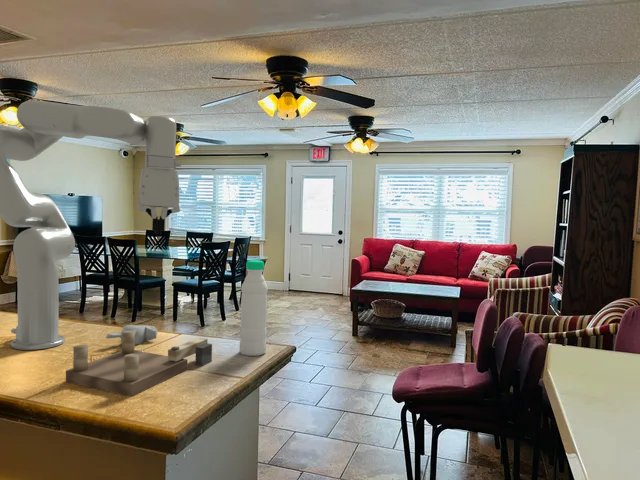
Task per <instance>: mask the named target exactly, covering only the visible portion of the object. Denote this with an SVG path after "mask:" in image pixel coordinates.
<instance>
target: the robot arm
mask: <svg viewBox="0 0 640 480" xmlns="http://www.w3.org/2000/svg"><path fill="white" fill-rule="evenodd" d="M16 117H17V118H16V119H17V121H18V123H19V124H20V125H21V127H23V128H21V129H17V128H15V127H10V126H7V125H3V124H0V218H2V220H3V222H4V223H6V224H7V225H9V226H10V227H14V228H27V229H25V230H22V231H21V232H20V233H19V234H18V235H17V236H16V237H15V239H14V242H13V244H12V246H13V255H14V256H13V257H14V260H15V265H16V276H17V282H16V283H17V325H16V327H15V328H12V329H11V330H10V332H11V334H15V338H14V339H12V340H11V342H10V347H11V348H12V349H15V350H19V351H20V350H22V351H33V350H44V349H49V348H54V347H57V346H60V345H62V344H64V343H65V341H66V337H65V336H64V335H61V334H60V333H59V329H60V328H59V327H60V326H59V318H60V317H59V313H60V310H59V309H60V307H59V306H60V305H59V302H60V300H59V297H60V294H59V292H60V291H59V289H60V286H59V283H60V282H59V272H58V268H57V265H56V263H55V261H59V260H64V259H67V258H69V256H71V255H72V254H73V252H74V250H75V248H76V239H75V237H74V234H73V232H72V230H71V228H70V226H69V224H68V223H67V221H66V219H65V218H64V215H63V214H62V212H61V210H60V209H59V207H58V205H57V204H56V202H55V201H54V200H53V199H52V198H51V197H49V196H47V195H46V194H43V193H40V192H31V191H30V190H29V188H27V186H26V184H25V182H24V181H23V179H22V178H21V176H20V174H19V173H18V171H17V170H16V169H15V168H14V167H13V166H12V165H11V163H10V162H9V161H8V160H13V161H18V162H19V161H21V162H25V161H29V160H32V159H34V158H36V157H38V156H39V155H40V154H42V153H43V152H45V151H46V150H47V149H48V148H50V147H51V146H53V145H55V143H57V142H58V141H59V140H61V139H62V138H63V137H65V138H70V139H71V138H72V139H77V140H78V139H84V138H85V137H97V138H99V137H100V138H105V139H112V140H118V141H121V142H123V143H127V144H129V145H133V146H145V162H144V163H145V164H144V168H141V171H140V175H139V176H140V177H139V185H138V188H139V189H138V204H137V210H138V211H140V212H143V213H147V214H148V215H149V216H150V218H151V219H152V223H151V224H152V225H151V226H152V227H151V228H152V230H151V231H153V232H154V234H155V235H158V234H159V235H162V232H165V225H166V223H165V222H166V221H165V220H166V219H167V218H168V217H169V216H170V215H171V214H175V213H180V211H181V208H180V179H179V173H178V170H176V168H178V167H179V168H181V166H182V162H181V161H177V159H176V154H177V153H176V152H177V151H176V147H177V123H176V121H175V119H173V118H172V117H168V116H162V115H151V116H149V117H148V118H147V119H146V118H143V117H141V116H138V115H136V114H135V113H132V112H130V111H128V110H124V109H120V108H112V107H104V106H95V105H76V104H69V103H67V104H65V103H62V102H61V103H60V102H54V101H53V102H52V101H46V100H45V101H44V100H38V99H36V100H35V99H32V100H26V101H24V102H22V103H20V104H19V106H18V107H17V109H16ZM157 208H161V213H160V215H159V216H157ZM158 217H159V218H158Z"/></svg>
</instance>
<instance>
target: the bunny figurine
mask: <svg viewBox="0 0 640 480" xmlns="http://www.w3.org/2000/svg"><path fill="white" fill-rule="evenodd" d="M158 330H159V329H157V327H156V326H153V325H147V324H139V325H136V324H127V325H124V326H122V329H121V332H120V333H119V332H118V333H116V332H113V333H108V334H107V335H106V337H105V339H115V338H120V340H121V341H122V332H124V331H134V332H135V342H134V346H137V345H139V344H140V345H141V344H143V343H145V342H146V341H151V340H156V339H157V335H158Z"/></svg>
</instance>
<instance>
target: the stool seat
mask: <svg viewBox="0 0 640 480" xmlns="http://www.w3.org/2000/svg"><path fill="white" fill-rule="evenodd" d="M121 332H122V331H121ZM134 342H135V332H134V331H124V332H122V340H121V351H118V352H115V353H113V354H112V353H111V354H110V355H108V356H104V357H102V358H101V357H100V358H99V359H95V360H92V361H89V346H88V345H87V344H79V345H74V346H73V355H72V356H73V357H72V358H73V365H72V366H73V367H72V368H69V369H67V370H65V383H70V384H73V385H79V386H82V387H85V388H86V387H87V388H91V389H96V390H101V391H105V392H110V393H114V394H119V395H123V396H129V397H134V396H135V395H138V394H140V393H142V392H144V391H146V390H147V389H150V388H152V387H155V386H156V385H159V384H160V383H163V382H164V381H168V380H169V379H171V378H173V377H176V376H178V375H180V374H182V373H184V372H186V371H188V359H186V358H183V359H181V360H178V361H171V360H168V355H164V354H159V353H153V352H152V353H151V352H146V351H142V350H135V345H134ZM212 354H213V343H208V342H207V343H204V344H202V345H199V346H197V347H196V353H195V365H196V366H205V365H207V364H208V363H210V362H212V361H213V355H212Z"/></svg>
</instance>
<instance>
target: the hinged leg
mask: <svg viewBox="0 0 640 480" xmlns="http://www.w3.org/2000/svg"><path fill="white" fill-rule="evenodd" d="M204 343H208V338H202V337H198V338H195V339H194V340H190V341H187V342H185V343H182V344H179V345H177V346H172V347H171V348H169V349H168V350H167V356H168V360H171V361H178V360H181V359H186V358H187V357H190V356H193V355H196V347H197V346H199V345H202V344H204Z"/></svg>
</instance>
